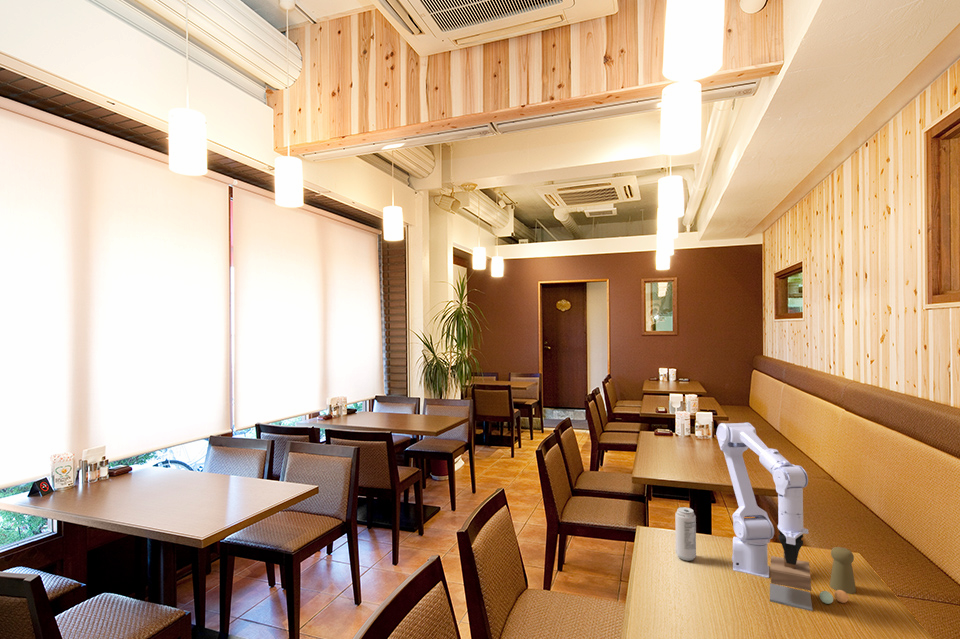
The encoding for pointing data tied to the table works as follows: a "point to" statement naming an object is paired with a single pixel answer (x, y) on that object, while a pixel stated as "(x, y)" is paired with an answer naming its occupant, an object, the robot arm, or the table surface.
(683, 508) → the energy drink can
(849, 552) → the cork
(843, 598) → the terracotta ball
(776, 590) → the plate
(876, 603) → the table surface
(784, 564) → the walnut cover
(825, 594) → the mint ball
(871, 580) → the table surface
